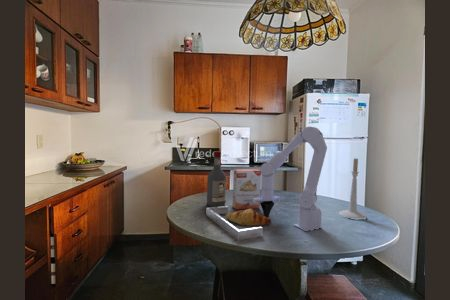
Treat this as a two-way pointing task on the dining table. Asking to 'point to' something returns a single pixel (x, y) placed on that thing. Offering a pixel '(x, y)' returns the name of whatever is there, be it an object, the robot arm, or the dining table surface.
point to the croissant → (248, 218)
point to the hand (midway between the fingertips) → (266, 216)
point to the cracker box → (246, 188)
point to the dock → (232, 230)
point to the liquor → (216, 184)
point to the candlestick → (353, 196)
